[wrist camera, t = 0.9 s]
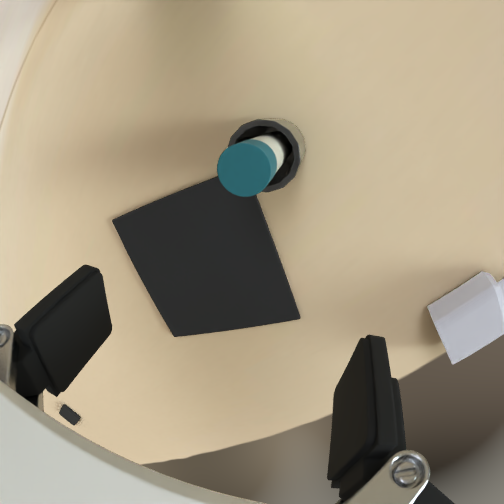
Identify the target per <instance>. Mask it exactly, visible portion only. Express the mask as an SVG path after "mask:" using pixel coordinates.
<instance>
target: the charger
mask: <svg viewBox="0 0 504 504" xmlns="http://www.w3.org/2000/svg"><path fill="white" fill-rule="evenodd" d="M427 307H428V310H429V312H430V315H431V317H432V320H433V322H434V325H435V327H436V329H437V331H438V334H439V336H440V338H441V340H442V342H443V344H444V347H445V349H446V351H447V353H448V355H449V358H450V360H451V363H452V365H453V364H455V363H457V362H459V361H460V360H462V359H464V358H466V357H467V356H469V355H471V354H473V353H474V352H476V351H478V350H479V349H481V348H482V347H484V346H486V345H487V344H489V343H490V342H492V341H494V340H495V339H496V338H498V337H500V336H501V335H503V334H504V278H503V279H502V280H500V281H499V282H498V283H497V282H496V280H495V279H494V278H493V277H492V275H491V274H490V273H487V272H483V271H482V272H480V273H479V274H477V275H476V276H474V277H473V278H471V279H470V280H468V281H467V282H465V283H464V284H462V285H461V286H459V287H458V288H456V289H454V290H453V291H451V292H450V293H448V294H446V295H445V296H443V297H442V298H440V299H438V300H437V301H435V302H433V303H432V304H430V305H428V306H427Z"/></svg>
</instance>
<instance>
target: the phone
mask: <svg viewBox="0 0 504 504" xmlns="http://www.w3.org/2000/svg"><path fill="white" fill-rule="evenodd" d="M59 414H60V415H61V416H62V417H64V418H65V419H66V420H67V421H68V422H70V423H71V424H72V425H75V424H76V423H77V422H78V421H79V420H80V417H79V416H78V415H77V414H76V413H74V412H73V411H72V410H71V409H70V408H68V407H67V406H66V405H63V406H62V408H61V410H60V412H59Z"/></svg>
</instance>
